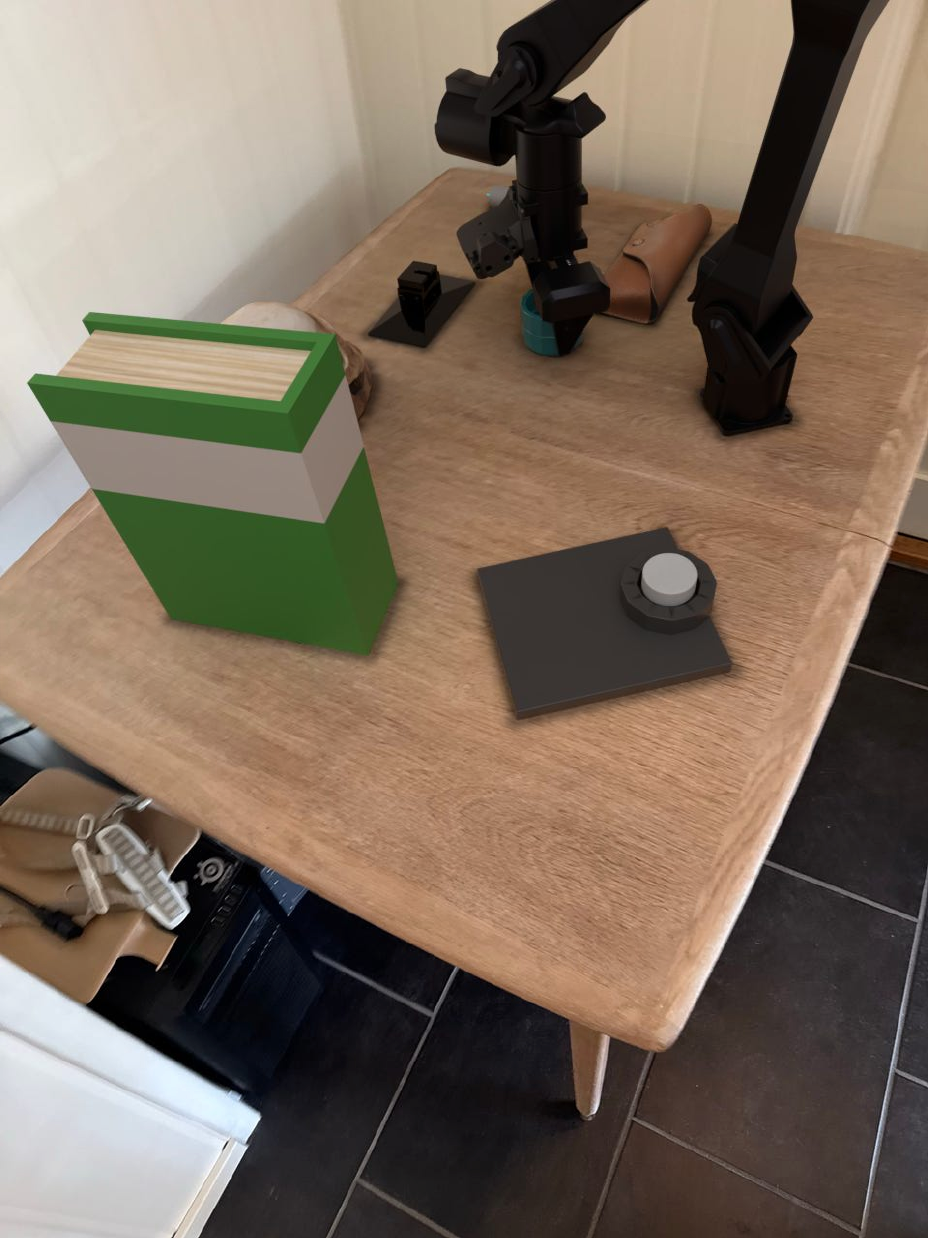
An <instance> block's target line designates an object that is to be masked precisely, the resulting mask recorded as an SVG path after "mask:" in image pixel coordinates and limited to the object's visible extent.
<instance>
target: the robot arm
mask: <svg viewBox="0 0 928 1238" xmlns="http://www.w3.org/2000/svg"><path fill="white" fill-rule="evenodd" d="M649 1H650V0H549V1H548V2H546V3H544V4H543V5H541V6H540V7H538V8H537V9H535V10H534V11H532V12H530V13H529V14H527V15H526V16H524V17H523V18H522V19H520V20H518V21H517V22H515V23H514V24H512V25H511V26H509V27H508V28H506V29H505V30H503V32H502V33H501V35H500V37H498V40H497V43H496V51H497V63H496V64H495V67H494V68H493V70H492V72H491V73H490V76H488V75H483V74H479V73H476V72H474V71H472V70H470V69H467V68H462V67H459V68H457V69H456V70H454V71H453V72H451V73H449V74H448V75H447V76H445V78H444V80H445V82H444V83H445V90H446V91H445V92H444V94H443V96H442V98H441V100H440V103H439V105H438V109H437V114H436V119H435V120H436V121H435V123H434V128H433V129H434V137H435V140H436V143H437V145H438V147H439V148H440V149H441V151H442V152H444V153H445V154H447V155H450V156H455V157H459V158H462V159H466V160H470V161H475V162H477V163H482V164H486V165H488V166H489V165H490V166H493V167H499V168H500V167H503V166H505V165H507V163H509V161H510V160H511V159H512V158H513V157H515V158H514V159H515V175H516V178H515V179H512V180H511V185H509V186H508V187H509V195H506V196H505V198H504V199H503V200H502V201H501V203H500V204H499V205H498V206H495V207H490V208H489V209H487V210H485V211H484V212H482V213H479V214H478V215H476V216H475V217H473V218H472V219H470V220H469V221H466V222H464V223H463V224H462V225H460V226H459V227H458V229H457V230H456V238H457V240H458V243H459V245H460V248H461V251H462V252H463V254H464V256H465V258H466V260H467V262H468V264H469V266H470V268H471V269H472V271H473V273H474V275H475V276H476V278H477V280H485V279H488V278H494V277H496V276H498V275H499V274H500V275H501V274H502V273H503V272H505V271H507V270H508V269H510V268H512V267H513V266H514V263H515V261H516V260H517V259H518V258H520V257H521V258H522V261H523V262H524V265H525V269H526V271H527V272H526V273H527V276H528V279H529V283H530V287H531V289H533V294H534V299H535V301H533V302H534V304H535V306H536V309H537V311H538V313H539V315H540V317H541V318H542V321H545V322H548V323H551V324H552V328H553V333H554V337H555V342H556V346H557V350H558V353H559V355H558V356H559V357H560V356H561V357H563V356H567V355H570V354H571V353H572V351H573V350H574V349H573V347H574V346H575V344H576V342H577V340H578V339H579V337H580V335H581V333H582V332H583V330H584V331H585V328H586V326H587V325H588V323H589V322H590V320H591V319H592V317H593V316H594V315H596V314H602V313H601V312H606V311H607V309H608V308H609V307H610V287H609V285H608V283H607V281H606V279H605V277H604V276H605V275H604V273H603V271H602V270H601V269H600V267H598V266H597V265H596V264H595V263H593V261H591V260H589V261H583V262H579V260H578V259H577V257H576V255H575V251H581V250H585V249H588V247H589V246H588V244H589V242H588V241H589V238H588V236H587V234H586V232H585V230H584V229H583V226H582V225H583V224H582V223H583V222H582V221H583V220H582V217H583V213H582V212H583V209H582V207H583V206H587V205H589V193H588V190H587V189H586V187H585V186H584V184H583V139H584V138H585V137H586V136H588V135H589V134H591V132H593V131H594V130H595V129H597V128H598V127H599V126H600V125H602V124H603V123H604V122H605V121H606V119H607V115H606V113H605V111H604V110H603V109H602V108H601V106H599V105H598V104H596V103H595V102H594V101H593V100H592V99H591V98H590V96H589V94H588V93H587V92H586V91H583V92H581V93H580V94H578V96H576V97H575V98H573V99H569V98H565V97H561V96H555V95H556V94H557V93H559V92H560V91H562V90H563V89H564V88H566V87H567V86H568V85H570V84H571V83H572V82H574V81H575V80H577V79H578V78H579V77H581V76H582V75H583V74H585V72H587V71H588V70H589V69H590V68H591V66H592V65H593V64H594V63H595V62H596V60H597V59H598V58H599V57H600V56H601V54H602V53H603V52H604V51H605V49H606V48H607V47H608V46H609V45H610V43H611V42H612V40H613V38H614V37H615V35H616V33H617V31H618V30H619V29H620V28H621V27H622V25H623V24H624V23H625V22H626V20H627V19H628V18H630V16H632V15H633V14H634V13H636V12H637V11H638V10H639V9H641V8H642V7H643V6H644V5H646V4H647V3H648V2H649ZM889 2H890V0H790V9H791V22H792V34H793V35H792V41H791V45H790V49H789V53H788V54H787V55H788V56H787V59H786V63H785V66H784V69H783V72H782V74H781V75H782V76H781V78H780V82H779V85H778V89H777V92H776V95H775V99H774V102H773V105H772V109H771V110H770V111H771V112H770V115H769V118H768V122H767V124H766V127H765V132H764V134H763V138H762V141H761V144H760V148H759V151H758V154H757V158H756V161H755V164H754V166H753V171H752V174H751V177H750V180H749V184H748V187H747V190H746V194H745V197H744V200H743V204H742V207H741V210H740V213H739V217H738V220H737V223H736V222H734V223H733V224H732V225H731V226H730V227H729V228H728V229H727V230H726V231H725V232H724V233H723V234H722V235H720V237H719V238H718V239H717V240H716V241H715V242H714V243H713V244H712V245H711V246H710V247H709V248H708V249H707V250H706V251H705V252H704V253H703V254H702V255H701V256H700V258H699V261H698V265H697V268H696V279H695V285H694V287H693V290H692V292H691V293H690V294H689V296H687V298H686V301H687V303H693V305H692V308H691V321H692V325H694V326H695V327H696V328H697V329H698V331H699V334H700V338H701V342H702V346H703V347H702V348H703V350H704V355H705V359H706V363H707V367H706V373H705V380H704V386H703V388H701V389H700V391H699V396H700V397H701V399H702V401H701V402H702V404H703V406H704V408H705V409H706V411H707V413H708V414H709V416H710V417H711V419H713V420H714V421H715V423H716V425H717V426H718V427H717V428H718V429H719V430H720V432H721V433H722V435H724V436H728V437H729V436H734V435H739V434H744V433H747V432H748V433H749V432H752V431H757V430H761V429H766V428H771V427H775V426H779V425H780V426H781V425H784V424H789V423H792V421H793V417H794V415H793V413H792V412H791V410H790V408H789V407H788V406H787V402H788V401H787V400H788V397H789V393H790V388H791V384H792V379H793V375H794V372H795V367H796V363H797V358H798V352H797V351H796V350H795V348H794V347H793V345H792V344H794V342H795V341H796V340H797V339H798V338H799V337H800V336H801V335H802V334H803V333H804V332H805V330H806V329H807V328H808V326H809V325H810V323H811V322H812V321H813V319H814V315H813V313H812V312H811V310H810V309H809V307H808V305H807V304H806V303H805V301H804V299H803V298H802V296H801V295H800V294H799V292H798V291H797V289H796V288H795V286H794V285H793V283H794V278H795V273H796V268H797V267H796V266H797V261H798V252H797V245H796V237H795V236H796V230H797V227H798V224H799V221H800V218H801V215H802V213H803V210H804V207H805V205H806V202H807V199H808V197H809V194H810V192H811V188H812V186H813V183H814V180H815V178H816V175H817V173H818V170H819V167H820V164H821V162H822V159H823V156H824V153H825V150H826V148H827V146H828V143H829V139H830V137H831V134H832V132H833V128H834V125H835V123H836V120H837V118H838V114H839V112H840V110H841V107H842V104H843V102H844V98H845V96H846V93H847V90H848V88H849V85H850V83H851V80H852V77H853V74H854V71H855V69H856V66H857V65H858V64H857V63H858V60H859V58H860V55H861V53H862V50H863V47H864V44H865V42H866V40H867V37H868V36H869V34H870V32H871V30H872V29H873V28H874V26H875V25H876V23H877V21H878V19H879V18H880V16H881V15H882V13H883V12H884V10H885V8H886V7H887V5H888V4H889ZM572 349H573V350H572Z"/></svg>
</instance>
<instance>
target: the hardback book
mask: <svg viewBox="0 0 928 1238" xmlns="http://www.w3.org/2000/svg"><path fill="white" fill-rule="evenodd" d="M81 321H82V323H83V325H84V327H85V329H86V331H87V332H88V334H89V336H88V338H87V339H86V340H84V342H83V343H82V344H81V346H80V347H79V348H78V349H77V350H76V352H75V353H74V354H73V355H72V356H71V357H70V359H69V360H67V362H66V363H65V364H64V365H63V367H62V368H61V369H60V370H59V371H58V372H57V374H56V375H53V374H52V375H51V374H44V373H34V374H33V375H32V376H31V378H29V380H28V381H27V382H26V384H27V386H28V387H29V389H30V390H31V392H32V394H33V395H34V397H35V399H36V400H37V402H38V403H39V405H40V407H41V409H42V410H43V412H44V414H45V415H46V417H47V418H48V420H49V422H50V423H51V425H52V427H53V428H54V430H55V431H56V433H57V435H58V436H59V438H60V440H61V441H62V444H63V445H64V446H65V448H66V449H67V451H68V452H69V454H70V456H71V458H72V460H73V461H74V462H75V464H76V466H77V468H78V469H79V471H80V473H81V474H82V476H83V477H84V479H85V481H86V482H87V484H88V486H89V487H90V489H91V490H92V492H93V494H94V495H95V497H96V498H97V500H98V502H99V504H100V505H101V506H102V509H103V510H104V512H105V513H106V515H107V516H108V518H109V520H110V521H111V523H112V525H113V526H114V528H115V530H116V531H117V533H118V535H119V536H120V538H121V540H122V541H123V543H124V545H125V546H126V548H127V549H128V551H129V553H130V554H131V556H132V557H133V559H134V561H135V563H136V564H137V566H138V567H139V570H140V571H141V572H142V574H143V576H144V577H145V579H146V581H147V582H148V584H149V585H150V588H151V589H152V591H153V592H154V594H155V595H156V597H157V599H158V600H159V602H160V604H161V605H162V607H163V608H164V611H166V614H167V615H168V617H169V619H171V620H174V621H180V622H186V623H192V624H195V625H196V624H198V625H201V626H207V627H213V628H219V629H224V630H229V631H234V632H238V633H245V634H250V635H255V636H260V637H266V638H272V639H276V640H282V641H288V642H292V643H297V644H304V645H310V646H314V647H320V648H324V649H331V650H335V651H336V650H337V651H341V652H347V653H351V654H352V653H353V654H357V655H362V656H369V655H370V653H371V650H372V648H373V646H374V643H375V641H376V638H377V636H378V633H379V631H380V629H381V627H382V624H383V623H384V619H385V617H386V615H387V612H388V609H389V607H390V605H391V603H392V600H393V598H394V596H395V593H396V591H397V589H398V586H399V584H400V583H399V579H398V576H397V571H396V568H395V567H396V566H395V563H394V560H393V555H392V552H391V548H390V544H389V540H388V536H387V532H386V529H385V525H384V521H383V520H384V519H383V517H382V513H381V509H380V503H379V501H378V500H379V499H378V497H377V493H376V489H375V485H374V481H373V477H372V473H371V469H370V465H369V461H368V457H367V454H366V453H367V452H366V449H365V446H364V441H363V437H362V434H361V430H360V426H359V421H358V420H357V418H356V414H355V410H354V406H353V402H352V398H351V394H350V390H349V386H348V382H347V378H346V374H345V370H344V367H343V363H342V359H341V355H340V351H339V347H338V343H337V339H336V335H335V334H327V333H316V332H305V331H294V330H283V329H272V328H261V327H250V326H239V325H228V324H220V323H215V322H214V323H213V322H206V321H193V320H183V319H174V318H173V319H171V318H162V317H161V318H160V317H151V316H150V317H149V316H138V315H129V314H119V313H118V314H117V313H107V312H106V313H105V312H96V311H95V312H94V311H89V312H88V313H87V314H86V315H85V316H84V317H83V318H82V320H81Z"/></svg>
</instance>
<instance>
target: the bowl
mask: <svg viewBox="0 0 928 1238" xmlns="http://www.w3.org/2000/svg"><path fill="white" fill-rule="evenodd" d="M533 301H535V299H534V294H533V289H532V288H531V289H528V290H527V292H525V293H524V295H522V297H521V300H520V319H521V320H520V321H521V322H520V324H521V339H522V342H523V344H524V346H526V347H527V348H528V349H529V350H531V351H532V352H533V353H535V354H538V355H540V356H545V357H557V356H560V355H559V353H558V350H557V346H556V342H555V337H554V333H553V328H552V324H551V323H548V322H545V321H542V318H541V317H540V315H539V313H538V311H537V309H536V306H535V304H534V302H533ZM584 336H585V329H584V330H583V332H582V333H581V335H580V337H579V339H578V340H577V342H576V344H575V346H574V347H573V349H572V351H574V349H575V348H577V347H578V346H579V345H580V344H581V343H582V342H583V340H584Z"/></svg>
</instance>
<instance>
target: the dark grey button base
mask: <svg viewBox="0 0 928 1238" xmlns="http://www.w3.org/2000/svg"><path fill="white" fill-rule="evenodd" d="M663 553H674V554H679V555H682V556H684V557H686V558H687V559H689V560H690V561H691V562H692V563H693V564H694V566H695V567H696V570H697V582H696V588H695V592H694V594H693V596H692V597H691V598H690V599H689V600H688V601H687V602H685V603H683V604H681V605H678V606H662V605H658V604H656V603H654V602H652V601H650V600H649V599H648V598H647V597H646V596H645V594H644V593H643V591H642V587H641V581H642V570H643V567H644V565H645V563H646V562H647V561H648V560H649V559H650V558H652V557H654V556H656V555H659V554H663ZM476 573H477V579H478V583H479V586H480V590H481V594H482V597H483V601H484V605H485V608H486V611H487V615H488V619H489V623H490V626H491V630H492V633H493V637H494V642H495V645H496V648H497V651H498V655H499V659H500V663H501V666H502V670H503V674H504V677H505V680H506V684H507V688H508V693H509V695H510V699H511V703H512V707H513V710H514V714H515V717H516V720H517V721H520V720H526V719H530V718H534V717H538V716H542V715H547V714H552V713H556V712H561V711H564V710H568V709H573V708H578V707H583V706H587V705H591V704H597V703H600V702H604V701H609V700H614V699H617V698H623V697H627V696H631V695H635V694H636V695H637V694H640V693H644V692H648V691H653V690H657V689H662V688H666V687H670V686H675V685H679V684H683V683H690V682H692V681H697V680H701V679H706V678H711V677H715V676H719V675H723V674H727V673H731V669H732V666H733V662H732V660H731V658H730V656H729V653H728V652H727V649H726V646H725V645H724V643H723V641H722V639H721V636H720V635H719V632H718V630H717V628H716V625H715V623H714V622H713V620H712V618H711V614H712V611H713V606H714V601H715V596H716V591H717V586H718V581H717V578H716V577H715V575H714V573H713V571H712V569H711V567H710V565H709V563H707V562H706V561H704V560H702V559H701V558H699V557H698V556H697V555H695V554H693V553H692V552H691V551H689V550H683V549H679V548H678V546H677V544H676V542H675V540H674V538H673V536H672V534H671V531H670V529H669V528H668V526H664V527H660V528H655V529H650V530H647V531H641V532H637V533H633V534H632V533H631V534H628V535H624V536H620V537H615V538H611V539H606V540H600V541H596V542H592V543H586V544H584V545H578V546H574V547H568V548H564V549H560V550H555V551H550V552H547V553H546V552H545V553H541V554H537V555H533V556H528V557H524V558H519V559H515V560H510V561H506V562H501V563H496V564H492V565H487V566H482V567H478V568H477V569H476Z"/></svg>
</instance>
